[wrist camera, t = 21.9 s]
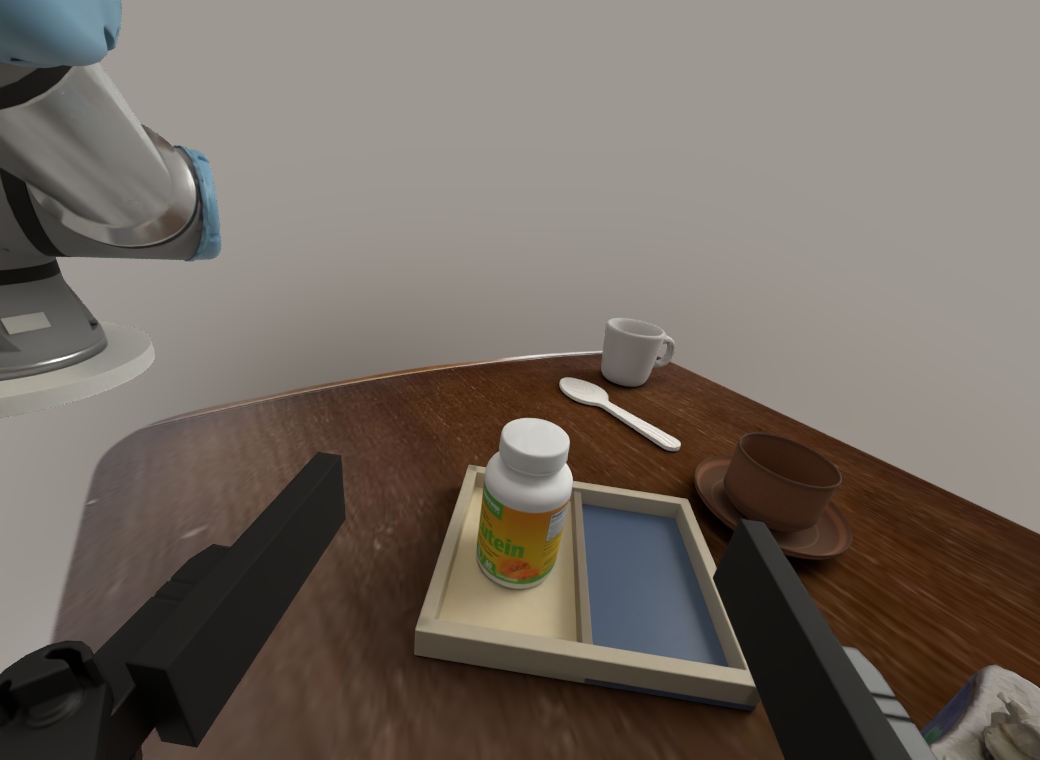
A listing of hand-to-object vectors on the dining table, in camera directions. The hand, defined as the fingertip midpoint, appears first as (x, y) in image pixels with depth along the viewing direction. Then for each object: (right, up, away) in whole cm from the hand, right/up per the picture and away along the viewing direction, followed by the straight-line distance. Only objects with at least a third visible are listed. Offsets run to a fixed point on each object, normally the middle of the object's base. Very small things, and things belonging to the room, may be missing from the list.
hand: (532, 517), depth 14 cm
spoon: (+11, +1, +36) cm, 37 cm away
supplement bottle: (-1, -7, +14) cm, 16 cm away
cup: (+16, +4, +46) cm, 49 cm away
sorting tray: (+3, -8, +14) cm, 17 cm away
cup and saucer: (+20, -7, +22) cm, 31 cm away
